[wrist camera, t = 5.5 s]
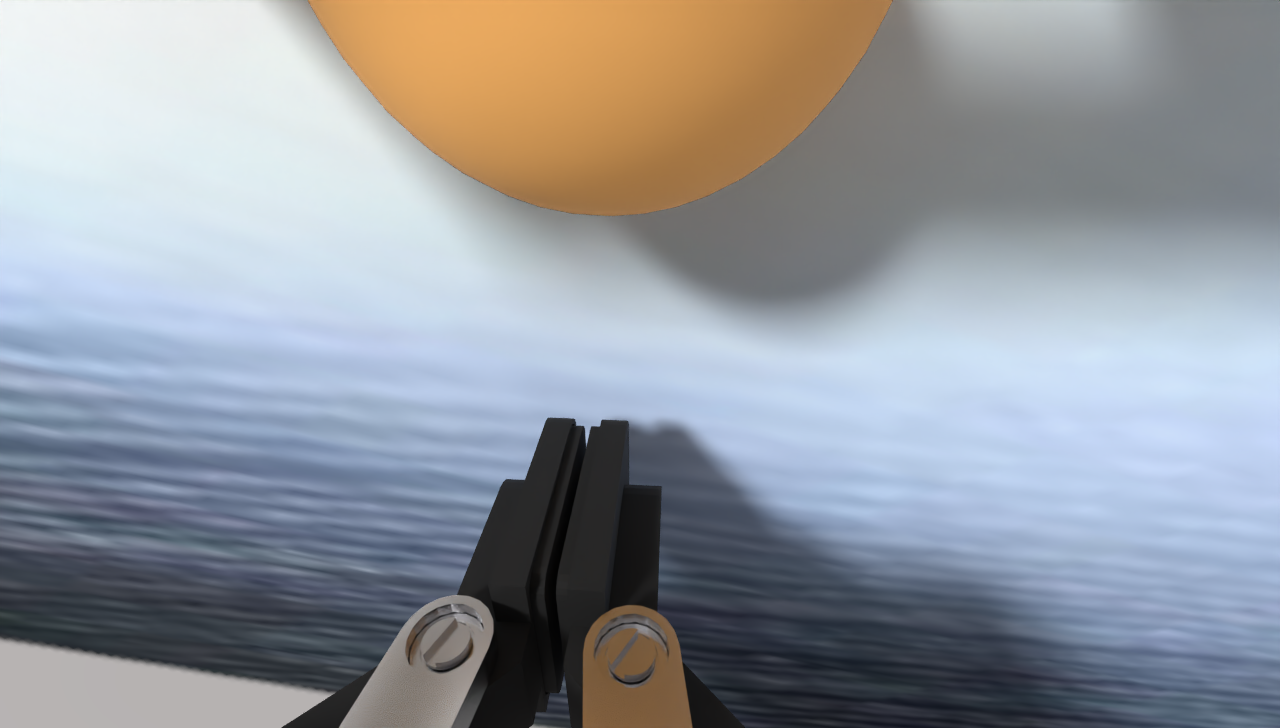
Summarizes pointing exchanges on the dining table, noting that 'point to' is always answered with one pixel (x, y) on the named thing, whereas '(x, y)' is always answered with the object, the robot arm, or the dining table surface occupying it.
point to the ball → (603, 88)
